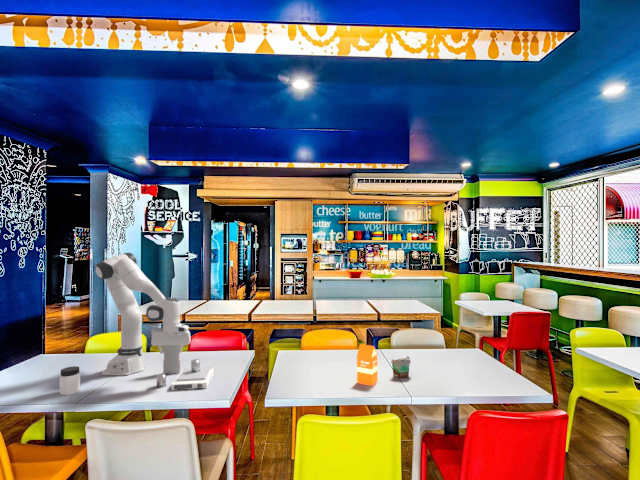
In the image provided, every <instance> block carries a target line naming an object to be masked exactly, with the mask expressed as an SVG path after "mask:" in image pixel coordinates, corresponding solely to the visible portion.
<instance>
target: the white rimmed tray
mask: <svg viewBox="0 0 640 480" xmlns="http://www.w3.org/2000/svg"><path fill="white" fill-rule="evenodd" d="M214 371H215V369H214V368H212V367H211V366H210V367H200V371H199V372H195V373H193V372H191V367H189V368H183V369H182V370H180V373H178V375H177V376H176V377H175V379H174V380H173V381H172V383H171V385H170V387H171V388H170V390H171V391H178V390H177V389H188V390H192V389H191V388H205V389H208V387H209V385H208V384H210V383H209V382H211V381H210V380H212V378H213V376H214V374H213V373H215V372H214ZM207 386H208V387H207Z"/></svg>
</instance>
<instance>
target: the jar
mask: <svg viewBox="0 0 640 480" xmlns="http://www.w3.org/2000/svg"><path fill="white" fill-rule="evenodd" d="M80 390H81V371H80V366H75V365H74V366H67V367H64V368H62V369H61V370H60V375H59V395H60V396H69V395H73V394H77V393H78V392H79V391H80Z"/></svg>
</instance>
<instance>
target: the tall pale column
mask: <svg viewBox="0 0 640 480" xmlns="http://www.w3.org/2000/svg"><path fill="white" fill-rule="evenodd" d="M179 349H181V345H162V350H164V353H163V362H162V363H163V365H162V367H163V373H164V374H166V375H175V374H174V373H178V374H180V372H181V359H180V357H181V355H180V354H181V353H178V350H179ZM163 373H162V374H163Z"/></svg>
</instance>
